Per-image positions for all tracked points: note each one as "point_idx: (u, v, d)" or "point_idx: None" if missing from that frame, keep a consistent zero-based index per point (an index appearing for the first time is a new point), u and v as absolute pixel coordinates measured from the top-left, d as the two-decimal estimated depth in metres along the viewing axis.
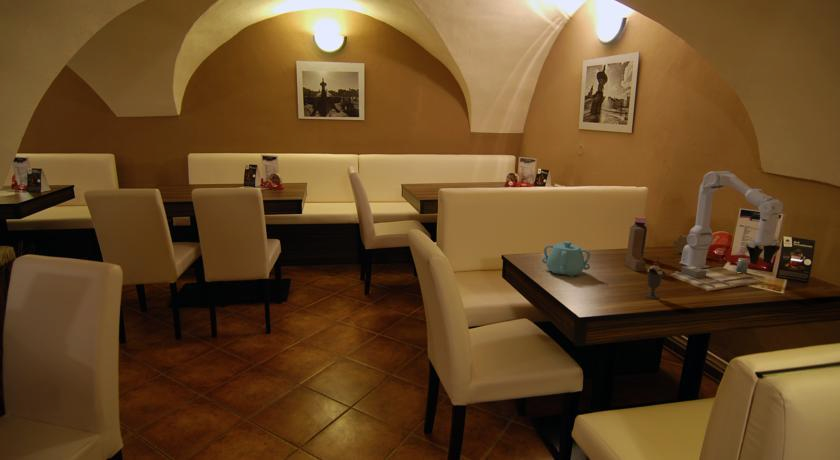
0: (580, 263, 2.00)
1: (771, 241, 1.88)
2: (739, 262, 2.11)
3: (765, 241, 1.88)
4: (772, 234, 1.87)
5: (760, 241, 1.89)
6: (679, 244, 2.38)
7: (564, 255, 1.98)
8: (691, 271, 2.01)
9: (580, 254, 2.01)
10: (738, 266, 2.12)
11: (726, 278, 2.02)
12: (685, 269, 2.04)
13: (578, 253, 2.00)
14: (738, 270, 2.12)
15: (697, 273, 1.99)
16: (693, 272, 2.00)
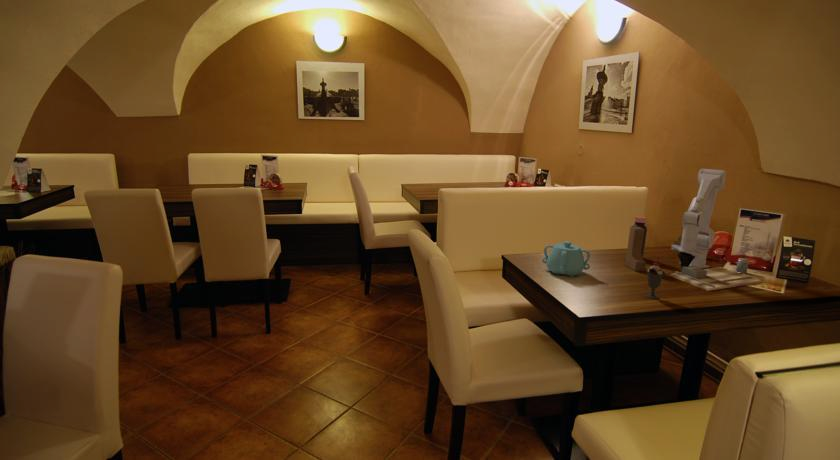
0: (580, 263, 2.00)
1: (682, 248, 2.04)
2: (739, 262, 2.11)
3: (680, 247, 2.07)
4: (683, 241, 2.04)
5: None
6: (679, 244, 2.38)
7: (564, 255, 1.98)
8: (691, 271, 2.01)
9: (580, 254, 2.01)
10: (738, 266, 2.12)
11: (726, 278, 2.02)
12: (685, 269, 2.03)
13: (578, 253, 2.00)
14: (738, 270, 2.12)
15: (697, 273, 1.99)
16: (693, 272, 2.00)
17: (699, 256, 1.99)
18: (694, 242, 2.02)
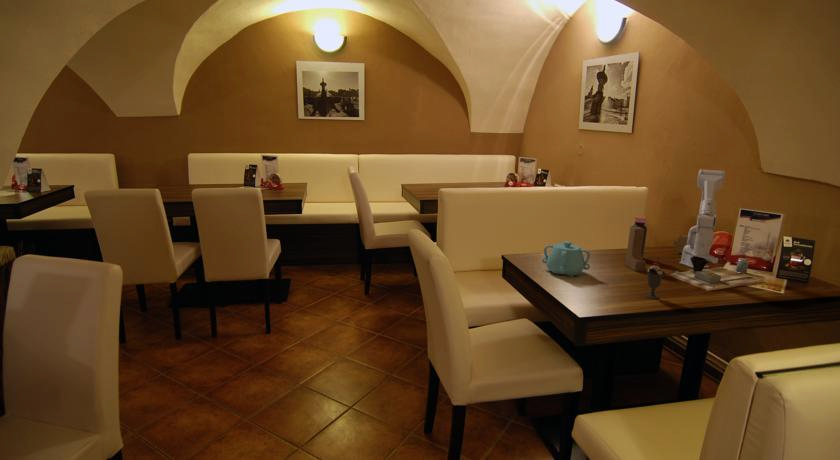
0: (580, 263, 2.00)
1: (695, 252, 1.99)
2: (739, 262, 2.11)
3: (693, 251, 2.01)
4: (696, 245, 1.98)
5: None
6: (679, 244, 2.38)
7: (564, 255, 1.98)
8: (705, 276, 1.95)
9: (580, 254, 2.01)
10: (738, 266, 2.12)
11: (726, 278, 2.02)
12: (699, 274, 1.98)
13: (578, 253, 2.00)
14: (738, 270, 2.12)
15: (711, 278, 1.93)
16: (707, 277, 1.94)
17: (713, 261, 1.93)
18: (708, 246, 1.96)
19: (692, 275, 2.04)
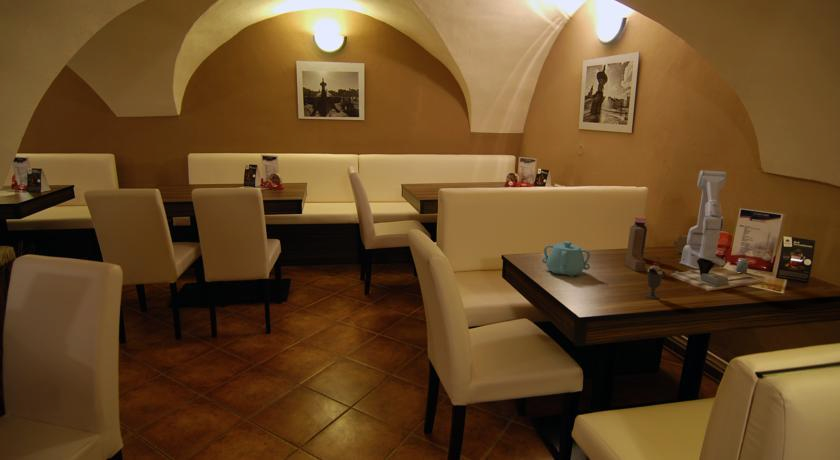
0: (580, 263, 2.00)
1: (702, 254, 1.96)
2: (739, 262, 2.11)
3: (699, 253, 1.98)
4: (702, 247, 1.96)
5: None
6: (679, 244, 2.38)
7: (564, 255, 1.98)
8: (712, 279, 1.92)
9: (580, 254, 2.01)
10: (738, 266, 2.12)
11: None
12: (705, 276, 1.95)
13: (578, 253, 2.00)
14: (738, 270, 2.12)
15: (718, 281, 1.91)
16: (714, 280, 1.91)
17: (720, 263, 1.91)
18: (714, 248, 1.93)
19: (692, 275, 2.04)
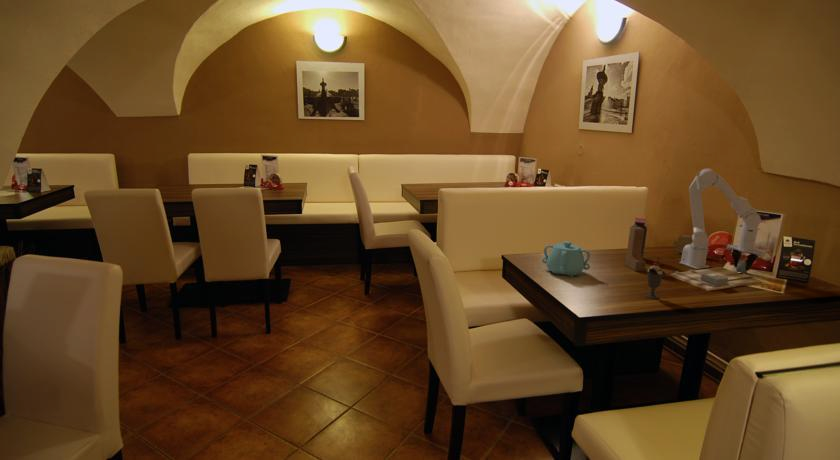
0: (580, 263, 2.00)
1: (742, 248, 2.09)
2: (739, 262, 2.11)
3: (738, 246, 2.11)
4: (743, 241, 2.08)
5: (738, 246, 2.12)
6: (679, 244, 2.38)
7: (564, 255, 1.98)
8: (712, 279, 1.92)
9: (580, 254, 2.01)
10: (738, 266, 2.12)
11: None
12: (705, 276, 1.95)
13: (578, 253, 2.00)
14: (738, 270, 2.12)
15: (718, 281, 1.91)
16: (714, 280, 1.91)
17: (761, 255, 2.05)
18: (754, 241, 2.07)
19: (692, 275, 2.04)
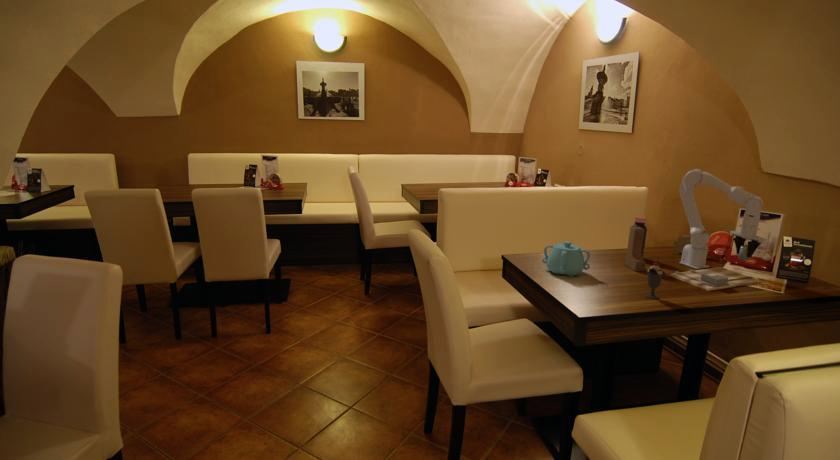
0: (580, 263, 2.00)
1: (743, 233, 2.05)
2: (741, 248, 2.07)
3: (740, 232, 2.07)
4: (744, 227, 2.04)
5: None
6: (679, 244, 2.38)
7: (564, 255, 1.98)
8: (712, 279, 1.92)
9: (580, 254, 2.01)
10: (740, 253, 2.08)
11: None
12: (705, 276, 1.95)
13: (578, 253, 2.00)
14: (740, 257, 2.08)
15: (718, 281, 1.91)
16: (714, 280, 1.91)
17: (762, 241, 1.99)
18: (756, 227, 2.02)
19: (692, 275, 2.04)
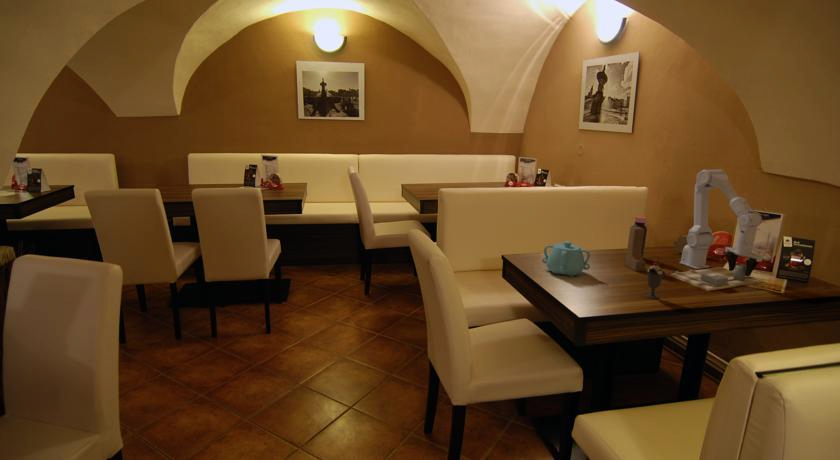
0: (580, 263, 2.00)
1: (738, 250, 1.97)
2: (736, 268, 2.00)
3: (735, 249, 1.99)
4: (739, 244, 1.97)
5: None
6: (679, 244, 2.38)
7: (564, 255, 1.98)
8: (712, 279, 1.92)
9: (580, 254, 2.01)
10: (735, 272, 2.00)
11: None
12: (705, 276, 1.95)
13: (578, 253, 2.00)
14: (735, 276, 2.00)
15: (718, 281, 1.91)
16: (714, 280, 1.91)
17: (757, 259, 1.92)
18: (751, 244, 1.94)
19: (692, 275, 2.04)
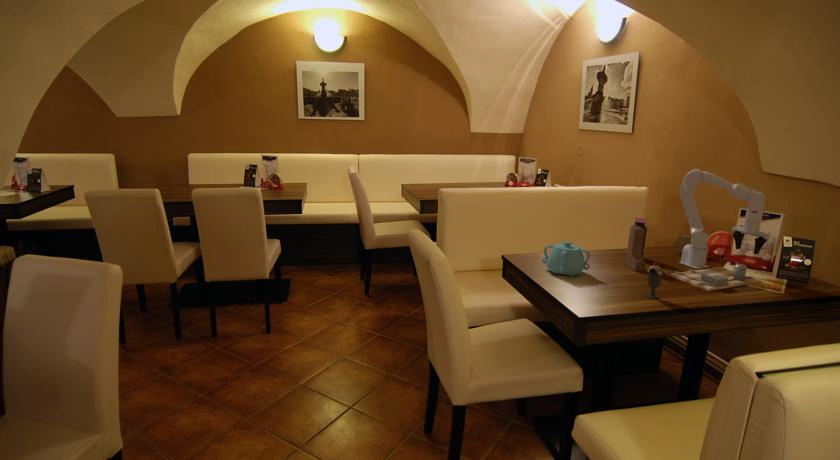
0: (580, 263, 2.00)
1: (746, 229, 2.05)
2: (736, 268, 2.00)
3: (743, 228, 2.07)
4: (747, 223, 2.04)
5: None
6: (679, 244, 2.38)
7: (564, 255, 1.98)
8: (712, 279, 1.92)
9: (580, 254, 2.01)
10: (735, 272, 2.00)
11: None
12: (705, 276, 1.95)
13: (578, 253, 2.00)
14: (735, 276, 2.00)
15: (718, 281, 1.91)
16: (714, 280, 1.91)
17: (765, 237, 2.00)
18: (759, 223, 2.02)
19: (692, 275, 2.04)
